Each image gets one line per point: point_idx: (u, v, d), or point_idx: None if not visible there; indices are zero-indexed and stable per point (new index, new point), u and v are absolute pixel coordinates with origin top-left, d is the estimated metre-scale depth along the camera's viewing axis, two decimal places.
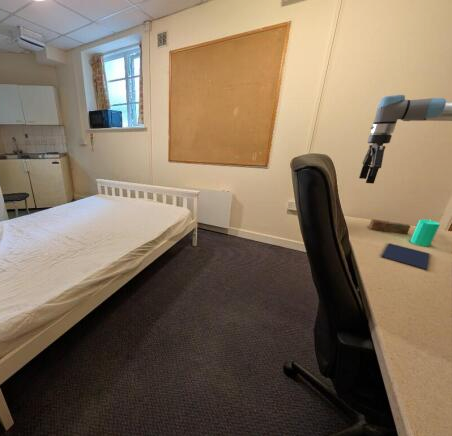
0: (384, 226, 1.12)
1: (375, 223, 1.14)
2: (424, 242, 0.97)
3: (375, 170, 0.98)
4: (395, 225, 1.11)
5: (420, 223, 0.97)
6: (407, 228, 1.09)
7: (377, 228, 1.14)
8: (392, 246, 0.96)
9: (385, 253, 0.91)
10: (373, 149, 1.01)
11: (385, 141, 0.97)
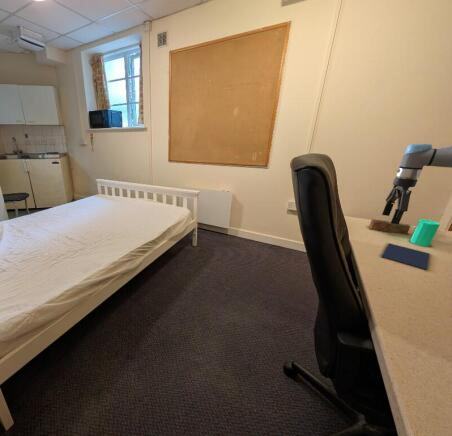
0: (384, 226, 1.12)
1: (375, 223, 1.14)
2: (424, 242, 0.97)
3: (401, 212, 1.03)
4: (395, 225, 1.11)
5: (420, 223, 0.97)
6: (407, 228, 1.09)
7: (377, 228, 1.14)
8: (392, 246, 0.96)
9: (385, 253, 0.91)
10: (399, 191, 1.05)
11: (411, 185, 1.02)
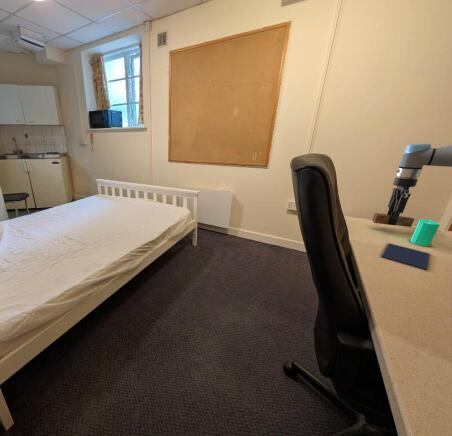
0: (387, 219, 1.11)
1: (378, 216, 1.12)
2: (424, 242, 0.97)
3: (397, 214, 1.07)
4: (398, 218, 1.09)
5: (420, 223, 0.97)
6: (411, 221, 1.07)
7: (380, 221, 1.12)
8: (392, 246, 0.96)
9: (385, 253, 0.91)
10: (399, 192, 1.06)
11: (411, 185, 1.02)
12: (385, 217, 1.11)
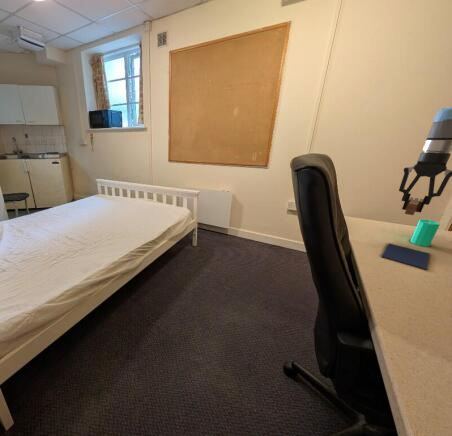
0: None
1: None
2: (424, 242, 0.97)
3: None
4: (409, 202, 0.90)
5: (420, 223, 0.97)
6: (407, 206, 0.88)
7: None
8: (392, 246, 0.96)
9: (385, 253, 0.91)
10: None
11: (419, 159, 0.86)
12: None
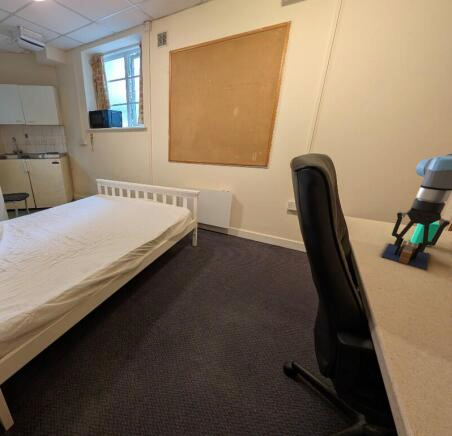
0: None
1: None
2: None
3: (396, 239, 0.89)
4: (403, 248, 0.87)
5: None
6: (401, 254, 0.84)
7: None
8: (392, 246, 0.96)
9: (385, 253, 0.91)
10: None
11: (412, 206, 0.83)
12: (402, 244, 0.91)
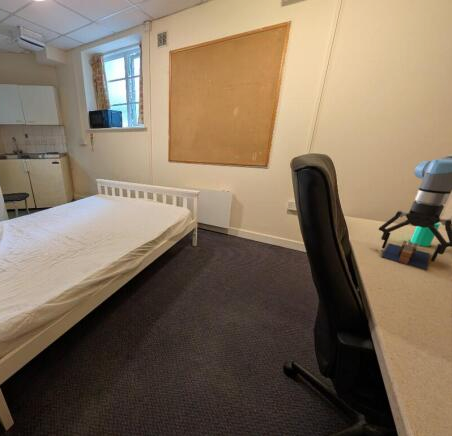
0: None
1: None
2: (424, 242, 0.97)
3: (383, 233, 0.92)
4: (403, 248, 0.87)
5: None
6: (401, 254, 0.84)
7: None
8: (392, 246, 0.96)
9: (385, 253, 0.91)
10: None
11: (411, 209, 0.83)
12: (402, 244, 0.91)
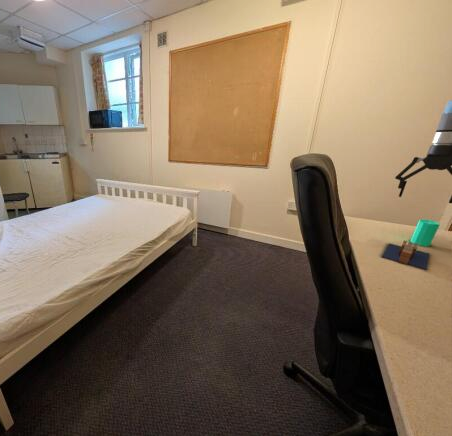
0: None
1: None
2: (424, 242, 0.97)
3: None
4: (403, 248, 0.87)
5: (420, 223, 0.97)
6: (401, 254, 0.84)
7: None
8: (392, 246, 0.96)
9: (385, 253, 0.91)
10: None
11: (429, 152, 0.85)
12: (402, 244, 0.91)
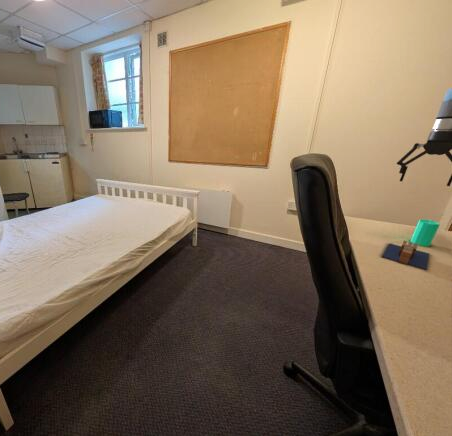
0: None
1: None
2: (424, 242, 0.97)
3: (401, 167, 0.99)
4: (403, 248, 0.87)
5: (420, 223, 0.97)
6: (401, 254, 0.84)
7: None
8: (392, 246, 0.96)
9: (385, 253, 0.91)
10: None
11: (428, 138, 0.90)
12: (402, 244, 0.91)
